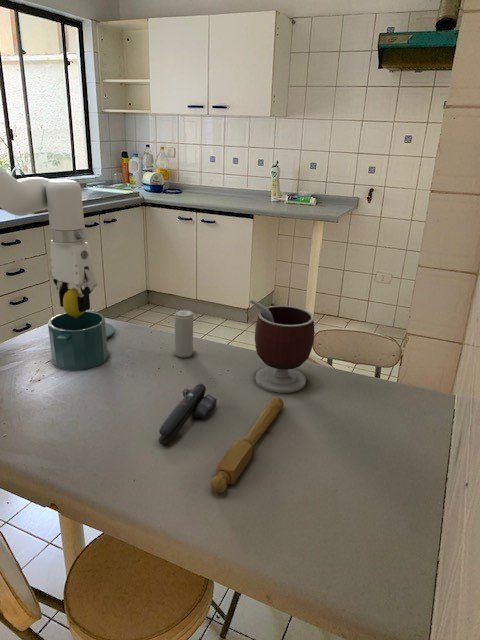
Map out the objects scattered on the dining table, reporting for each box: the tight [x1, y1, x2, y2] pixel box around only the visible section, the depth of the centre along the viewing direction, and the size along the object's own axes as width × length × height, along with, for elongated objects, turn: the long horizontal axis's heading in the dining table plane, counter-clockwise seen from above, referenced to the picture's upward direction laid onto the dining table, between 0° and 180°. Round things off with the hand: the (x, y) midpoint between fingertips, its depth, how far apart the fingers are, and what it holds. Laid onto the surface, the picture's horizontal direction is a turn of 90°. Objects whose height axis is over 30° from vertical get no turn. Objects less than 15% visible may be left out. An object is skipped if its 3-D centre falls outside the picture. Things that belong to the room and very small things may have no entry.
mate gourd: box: [249, 299, 315, 394], centre depth 110 cm, size 16×14×20 cm
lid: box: [105, 322, 115, 339], centre depth 132 cm, size 14×14×7 cm
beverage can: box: [174, 309, 194, 359], centre depth 122 cm, size 5×5×12 cm
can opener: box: [158, 383, 218, 446], centre depth 94 cm, size 18×7×6 cm, turn 154°
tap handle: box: [209, 396, 285, 494], centre depth 89 cm, size 3×3×30 cm
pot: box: [47, 309, 109, 371], centre depth 118 cm, size 13×19×10 cm
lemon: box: [62, 287, 85, 318], centre depth 114 cm, size 6×6×8 cm
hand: (75, 307), depth 115 cm, fingers closed on lemon, 5 cm apart
